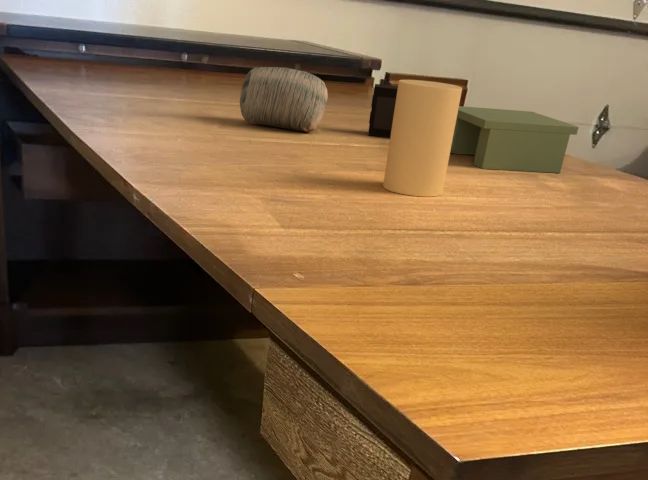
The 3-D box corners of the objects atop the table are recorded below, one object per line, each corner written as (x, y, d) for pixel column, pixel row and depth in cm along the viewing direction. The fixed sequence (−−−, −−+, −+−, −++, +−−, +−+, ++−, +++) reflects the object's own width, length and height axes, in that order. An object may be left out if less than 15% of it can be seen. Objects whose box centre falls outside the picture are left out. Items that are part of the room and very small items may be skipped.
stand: (522, 154, 127) (532, 111, 123) (566, 173, 115) (579, 126, 112) (438, 149, 123) (446, 105, 120) (475, 168, 112) (485, 120, 109)
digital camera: (367, 136, 128) (373, 86, 124) (367, 131, 133) (374, 82, 129) (433, 144, 128) (442, 93, 124) (431, 138, 132) (440, 90, 128)
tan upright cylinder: (429, 184, 100) (448, 82, 94) (451, 198, 94) (472, 90, 88) (375, 181, 98) (390, 77, 92) (394, 195, 93) (411, 85, 86)
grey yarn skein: (220, 99, 123) (252, 35, 121) (242, 125, 132) (272, 66, 130) (294, 137, 120) (328, 72, 118) (311, 161, 129) (343, 101, 127)
